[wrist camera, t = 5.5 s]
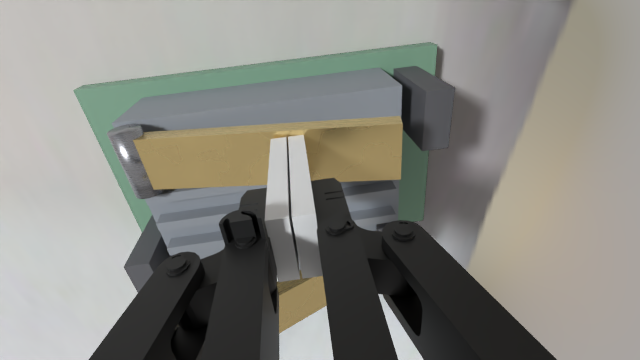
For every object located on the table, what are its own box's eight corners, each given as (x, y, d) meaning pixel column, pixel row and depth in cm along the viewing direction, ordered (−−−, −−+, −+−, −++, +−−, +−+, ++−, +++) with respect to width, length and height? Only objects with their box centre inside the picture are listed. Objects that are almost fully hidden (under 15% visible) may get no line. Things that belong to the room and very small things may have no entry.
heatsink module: (159, 251, 30) (130, 317, 24) (82, 85, 22) (11, 122, 16) (418, 212, 31) (452, 266, 25) (430, 42, 23) (483, 61, 17)
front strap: (144, 184, 20) (129, 199, 18) (118, 124, 18) (99, 136, 16) (397, 173, 18) (401, 189, 17) (399, 105, 16) (403, 117, 15)
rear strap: (389, 215, 23) (405, 227, 22) (388, 255, 25) (403, 268, 24) (172, 324, 17) (179, 348, 16) (194, 365, 19) (201, 389, 18)
